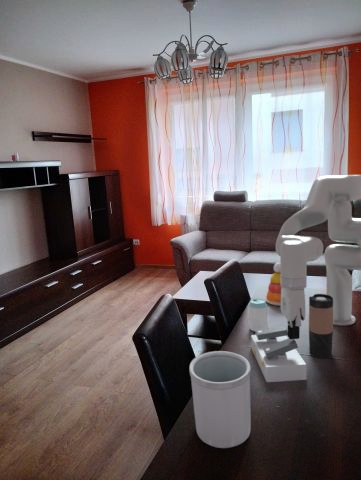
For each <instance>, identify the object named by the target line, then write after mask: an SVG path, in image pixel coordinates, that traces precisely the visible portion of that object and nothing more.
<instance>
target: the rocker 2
mask: <svg viewBox="0 0 361 480" xmlns="http://www.w3.org/2000/svg"><path fill="white" fill-rule="evenodd" d="M298 348H299V346H298V344H297V341H296V339H289V337H288V339H286V340H283V341H281V342H278V343H276V344H273V345H271V346H268V347H265V348H263V350H264V353H265V355H266V357H267V359H270V358H273V357H276V356H278V355H281V354H283V353H286V352H288V351H291V350H294V349H296V350H297V349H298Z"/></svg>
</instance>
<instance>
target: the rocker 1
mask: <svg viewBox="0 0 361 480" xmlns="http://www.w3.org/2000/svg"><path fill="white" fill-rule="evenodd" d="M255 335H256V336H257V338H258V340H263V339H269V338H275V337H281V336H287V337H288V328H287V327H286V326H285V325H280V326H279V325H278V326H273V327H267V328H266V329H260V330H256V332H255Z"/></svg>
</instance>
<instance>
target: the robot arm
mask: <svg viewBox="0 0 361 480" xmlns="http://www.w3.org/2000/svg"><path fill="white" fill-rule="evenodd" d="M357 200H361V174H345V175H343V174H340V175H339V174H335V175H334V174H332V175H322V176H319V177H317V178H316V179H315V180H314V181H313V183H312V185H311V187H310V190H309V193H308V196H307V197H306V200H305V203H304V207H303V208H302V209H300V210H299V211H297V212H295V213H294V214H292V215H291V216H290V217H289V218H288V219H286V220H285V222H284V223H283V224H282V226H281V228H280V230H279V233H278V235H277V238H276V242H275V252H276V254H277V255H278V256H279V257H280V261H279V262H280V263H281V287H282V289H281V306H280V311H281V314H282V315H283V317H285V318H286V320H287V321H286V322H287V332H288V335H287V337H288V338H289V339H294V340H299V339H300V327H301V326H302V321H305V320H306V294H305V289H306V288H307V282H308V281H307V280H308V279H307V274H308V273H307V269H308V268H307V266H308V264H307V263H309V262H314V261H316V260H318V259H320V258H321V256H322V255H323V253H324V261H325V269H326V295H329V296H331V297H333V326H341V327H342V326H350V325H353V324H354V323H356V317H355V316H354V315H352V310H353V309H352V308H353V307H352V306H353V305H352V303H353V302H352V301H353V299H352V297H353V278H352V275H351V274H350V272H349V270H351V271H352V270H354V271H361V217H353V215H352V210H353V209H352V204H351V201H353V202H354V201H357ZM326 221H327V232H328V233H327V234H328V238H329V239H330V240H331V241H332V242H339V243H333V244H329V245H328V246H326V248H325V250H324V244H323V243H324V242H322V240H321V239H320V238H318V237H317V236H316V237H315V236H311V235H310V236H308V235H298V234H297V233H298V232H299V231H302V230H304V229H308V228H311V227H315V226H317V225H320V224H322V223H324V222H326ZM296 234H297V235H296ZM343 243H351V244H343ZM352 244H353V245H352ZM355 244H357V245H355Z"/></svg>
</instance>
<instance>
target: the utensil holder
mask: <svg viewBox="0 0 361 480" xmlns="http://www.w3.org/2000/svg"><path fill="white" fill-rule="evenodd" d="M251 369H252V368H251V364H250V362H249V360H248V359H247V358H246V357H244V356H243V355H240V354H239V353H235V352H232V351H224V350H218V351H217V350H214V351H208V352H205V353H202V354H200V355H198V356H196V357H194V358H193V359H192V360H191V362H190V364H189V376H190V381H191V390H192V392H191V393H192V399H193V401H192V402H193V403H192V404H193V413H194V422H195V430H196V434H197V436H198V437H199V439H200V440H201V441H202V442H203V443H205V444H207V445H209V446H210V447H214V448H218V449H219V448H220V449H229V448H233V447H237V446H239V445H241V444H243V443H244V442H245V441H246V440H247V439H248V438H249V437H250V434H251V431H252V430H251V427H252V426H251V425H252V424H251V423H252V421H251V418H252V417H251V416H252V414H251V413H252V412H251V410H252V409H251V408H252V407H251V380H250V376H251Z"/></svg>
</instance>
